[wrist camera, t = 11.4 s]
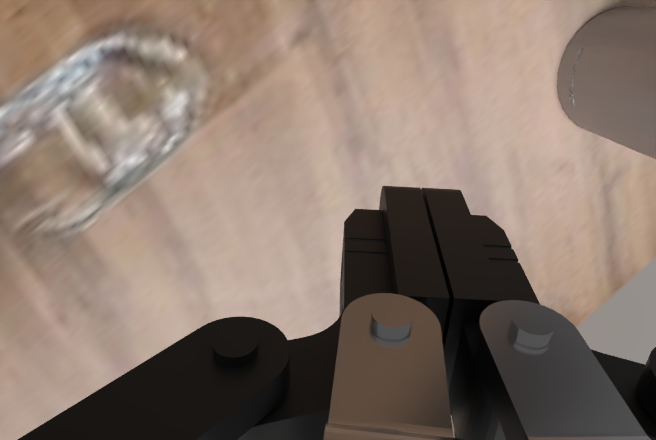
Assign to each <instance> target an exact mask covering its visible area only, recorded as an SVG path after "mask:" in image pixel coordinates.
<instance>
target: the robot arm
mask: <svg viewBox="0 0 656 440" xmlns="http://www.w3.org/2000/svg"><path fill="white" fill-rule="evenodd" d="M557 90H558V98H559V101H560V103H561V106H562V109H563V110H564V112H565V113H566V115H567V116H568V118H569V119H570V120H571V121H573V122H574V123H575V124H576V125H577V126H579V127H581V128H583V129H586V130H588V131H590V132H592V133H595V134H597V135H600V136H602V137H604V138H607V139H609V140H611V141H613V142H616V143H618V144H621V145H623V146H625V147H628V148H630V149H632V150H635V151H637V152H640V153H642V154H644V155H647V156H649V157H652V158H654V159H656V8H646V7H620V8H615V9H611V10H608V11H606V12H604V13H602V14H600V15H598V16H596V17H595V18H593V19H592V20H590V21H589V22H588V23H586V24H585V25H584V26H583V27H582V28H581V29H580V30H579V31H578V32H577V33H576V35H575V36H574V37H573V39H572V40H571V42H570V43H569V45H568V46H567V48H566V50H565V53H564V55H563V57H562V59H561V63H560V66H559V70H558V78H557ZM451 415H452V420H453V425H454V432H453V430H452V422H451ZM18 440H656V347H655V348H654V349H653V350H652V351H651V354H650V356H649V358H648V361H647V363H646V365H644V364H640V363H637V362H633V361H629V360H626V359H622V358H618V357H614V356H611V355H607V354H603V353H600V352H597V351H594V350H591V349H590V348H589V346H588V345H587V343H586V342H585V340H584V339H583V337H582V336H581V334H580V333H579V331H578V330H577V329H576V327H575V326H574V325H573V324H572V323H571V322H570V321H569V320H568V319H566V318H565V317H564V316H562V315H561V314H559V313H557V312H556V311H554V310H552V309H550V308H548V307H545V306H542V305H540V304H539V301H538V299H537V297H536V295H535V293H534V291H533V289H532V287H531V285H530V283H529V281H528V279H527V277H526V275H525V273H524V271H523V269H522V267H521V265H520V263H518V258H517V256H516V254H515V252H514V250H513V249H511V244H510V242H509V240H508V238H507V236H506V234H505V232H504V230H503V229H502V228H500V227H499V226H498V225H497V224H496V223H494V222H493V221H492V220H491V219H489V218H488V217H487V216H480V215H471V214H470V212H469V209H468V207H467V204H466V202H465V199H464V197H463V194H462V192H461V191H460V190H452V189H434V188H422V189H420V188H413V187H394V186H383V187H382V191H381V197H380V207H379V210H366V209H355V210H354V211H353V212H352V214H351V215H350V216H349V217H348V218H347V219H346V221H345V222H344V237H343V251H342V266H341V280H340V317H339V319H338V320H337V321H336V322H335V323H334V324H333V325H331V326H330V327H329V328H327V329H325V330H324V331H322V332H320V333H317V334H314V335H312V336H307V337H303V338H298V339H293V340H287V339H286V337H285V335H284V334H283V333H282V332H281V331H280V330H279V329H278V328H277V327H275V326H274V325H272V324H270V323H268V322H266V321H263V320H260V319H256V318H252V317H229V318H223V319H219V320H216V321H213V322H211V323H208V324H206V325H204V326H202V327H201V328H199V329H197V330H196V331H194V332H192V333H191V334H189V335H187V336H186V337H184V338H183V339H181V340H179V341H178V342H176V343H174V344H173V345H171V346H170V347H168V348H166V349H165V350H163V351H161V352H160V353H158V354H156V355H155V356H153V357H152V358H150V359H148V360H147V361H145V362H143V363H142V364H140V365H139V366H137V367H135V368H134V369H132V370H130V371H129V372H127V373H126V374H124V375H122V376H121V377H119V378H117V379H116V380H114V381H112V382H111V383H109V384H108V385H106V386H104V387H103V388H101V389H99V390H98V391H96V392H95V393H93V394H91V395H90V396H88V397H86V398H85V399H83V400H81V401H80V402H78V403H77V404H75V405H73V406H72V407H70V408H68V409H67V410H65V411H64V412H62V413H60V414H59V415H57V416H55V417H54V418H52V419H50V420H49V421H47V422H46V423H44V424H42V425H41V426H39V427H37V428H36V429H34V430H33V431H31V432H29V433H28V434H26V435H24V436H23V437H21V438H19V439H18Z"/></svg>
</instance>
